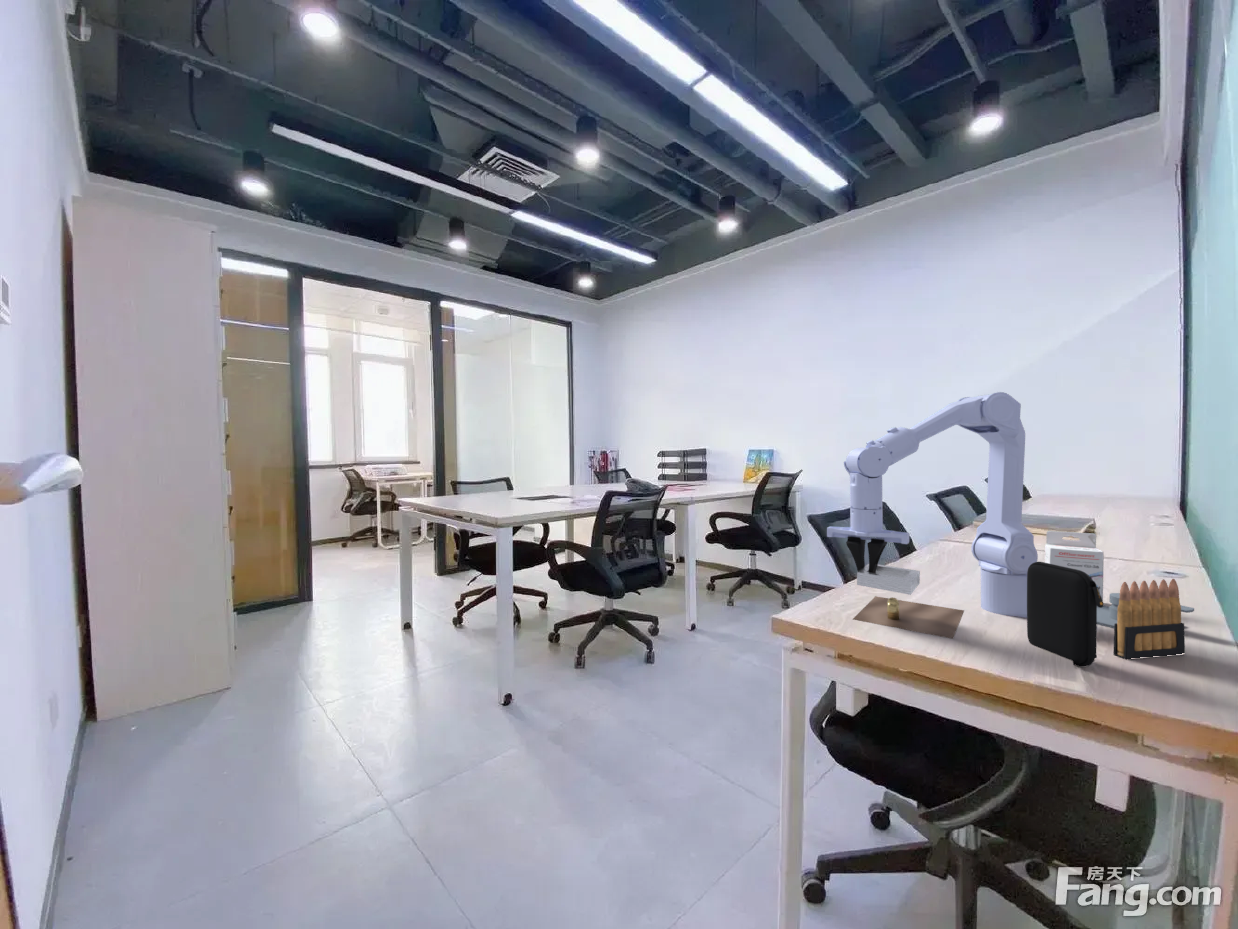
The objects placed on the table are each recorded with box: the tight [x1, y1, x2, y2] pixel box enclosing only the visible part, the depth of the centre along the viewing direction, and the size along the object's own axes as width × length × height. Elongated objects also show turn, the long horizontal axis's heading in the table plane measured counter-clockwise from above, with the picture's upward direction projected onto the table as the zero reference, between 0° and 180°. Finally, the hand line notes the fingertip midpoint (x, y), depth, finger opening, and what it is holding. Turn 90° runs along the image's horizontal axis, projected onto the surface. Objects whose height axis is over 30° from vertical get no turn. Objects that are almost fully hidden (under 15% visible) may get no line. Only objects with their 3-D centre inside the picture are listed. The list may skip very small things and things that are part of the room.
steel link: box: [856, 563, 921, 596], centre depth 93 cm, size 9×9×2 cm
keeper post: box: [887, 597, 899, 620], centre depth 93 cm, size 2×2×4 cm
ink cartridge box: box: [1044, 530, 1105, 601], centre depth 102 cm, size 9×5×15 cm, turn 58°
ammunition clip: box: [1113, 578, 1186, 660], centre depth 77 cm, size 11×2×12 cm, turn 96°
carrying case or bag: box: [1026, 561, 1104, 668], centre depth 76 cm, size 11×3×15 cm, turn 9°
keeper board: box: [852, 595, 965, 639], centre depth 95 cm, size 16×18×1 cm
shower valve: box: [1097, 592, 1195, 629], centre depth 90 cm, size 12×6×15 cm
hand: (866, 576), depth 96 cm, fingers closed on steel link, 1 cm apart
